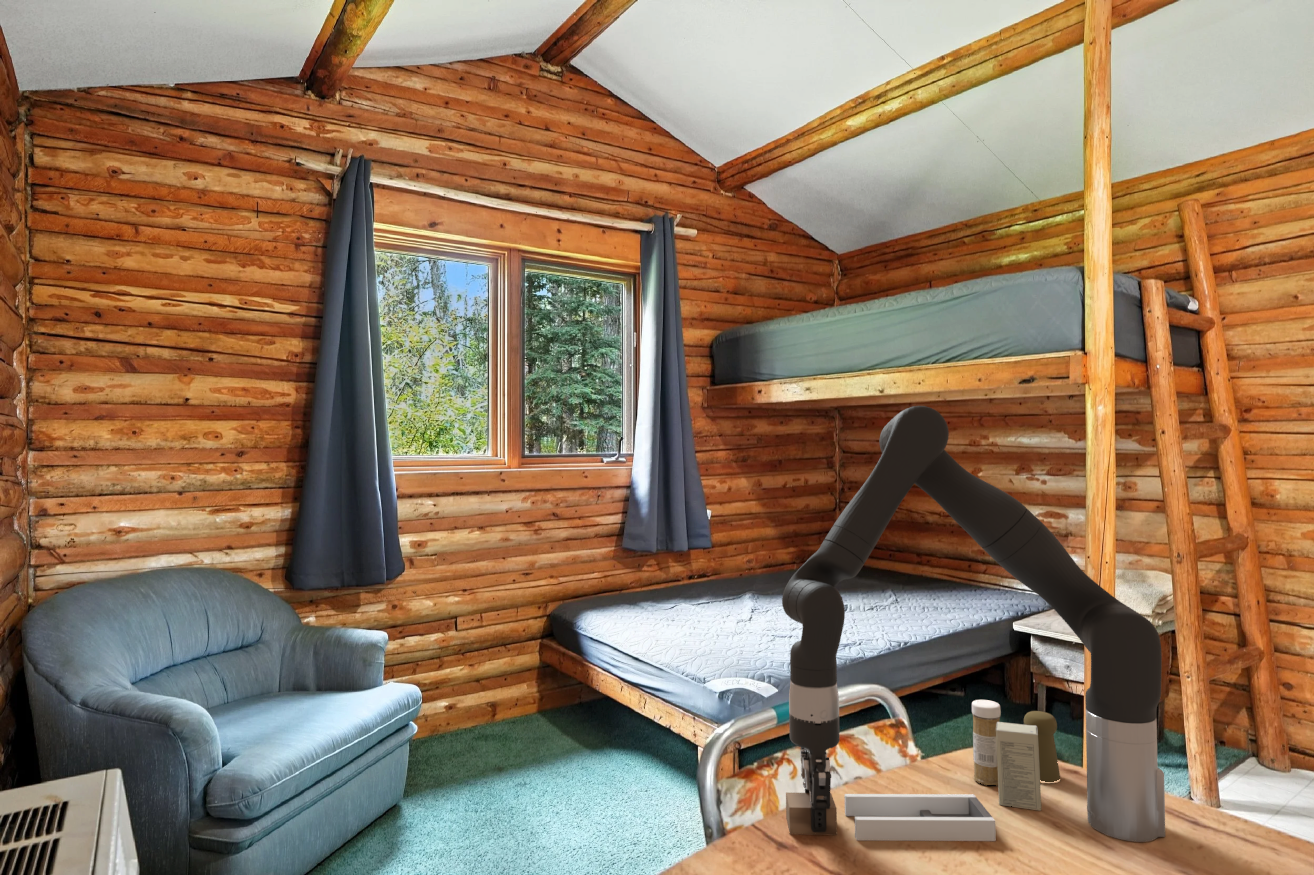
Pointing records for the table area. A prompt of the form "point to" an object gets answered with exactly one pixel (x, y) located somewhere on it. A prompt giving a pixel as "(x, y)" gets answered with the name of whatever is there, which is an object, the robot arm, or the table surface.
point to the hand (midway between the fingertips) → (815, 821)
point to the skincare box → (1018, 765)
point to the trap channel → (936, 822)
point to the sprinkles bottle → (985, 741)
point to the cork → (1045, 744)
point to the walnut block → (807, 814)
